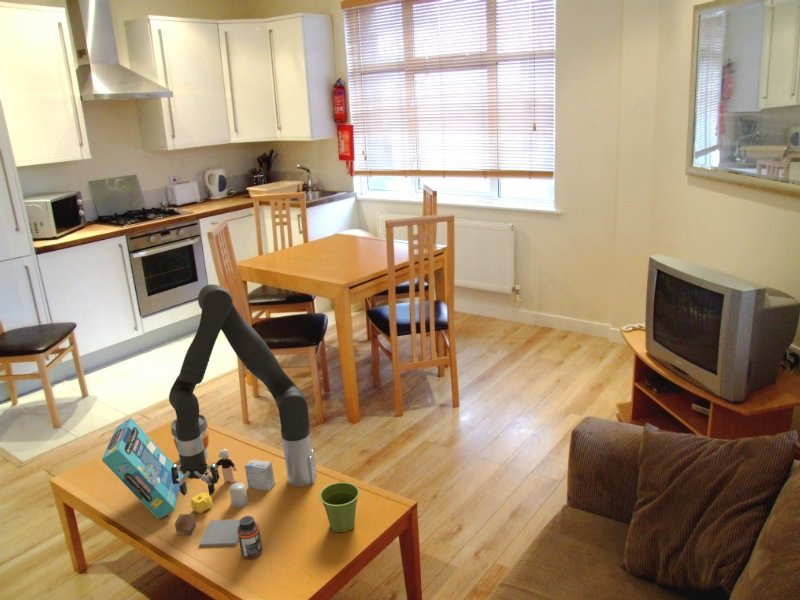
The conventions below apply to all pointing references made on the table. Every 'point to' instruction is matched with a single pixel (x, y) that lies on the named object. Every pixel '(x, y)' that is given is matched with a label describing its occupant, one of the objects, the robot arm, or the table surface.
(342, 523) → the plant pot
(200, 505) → the teapot
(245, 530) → the supplement bottle
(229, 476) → the grandmother figurine
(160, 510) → the game box
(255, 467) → the medicine box
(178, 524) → the walnut cube
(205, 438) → the reusable coffee cup
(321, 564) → the table surface
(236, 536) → the slate mat
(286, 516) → the table surface
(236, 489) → the white rounded cylinder
